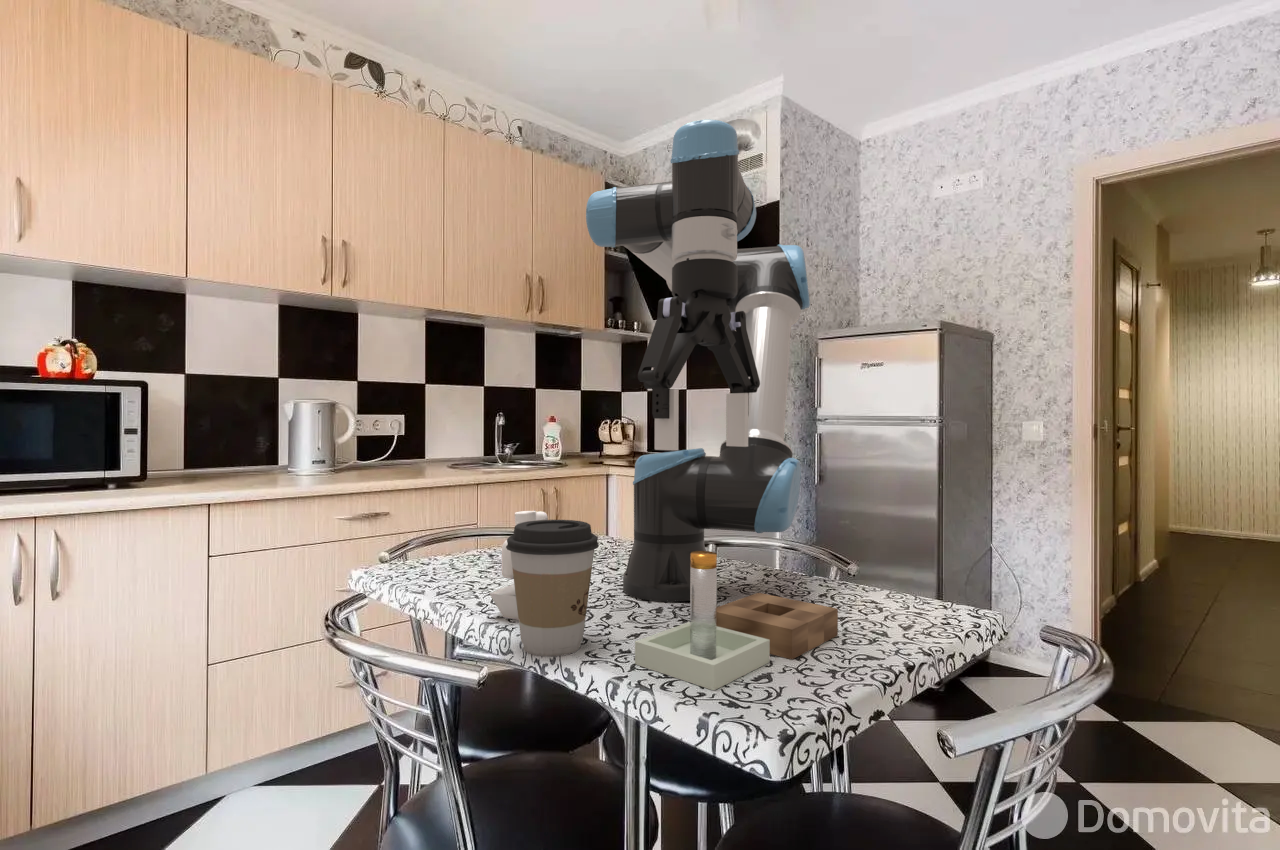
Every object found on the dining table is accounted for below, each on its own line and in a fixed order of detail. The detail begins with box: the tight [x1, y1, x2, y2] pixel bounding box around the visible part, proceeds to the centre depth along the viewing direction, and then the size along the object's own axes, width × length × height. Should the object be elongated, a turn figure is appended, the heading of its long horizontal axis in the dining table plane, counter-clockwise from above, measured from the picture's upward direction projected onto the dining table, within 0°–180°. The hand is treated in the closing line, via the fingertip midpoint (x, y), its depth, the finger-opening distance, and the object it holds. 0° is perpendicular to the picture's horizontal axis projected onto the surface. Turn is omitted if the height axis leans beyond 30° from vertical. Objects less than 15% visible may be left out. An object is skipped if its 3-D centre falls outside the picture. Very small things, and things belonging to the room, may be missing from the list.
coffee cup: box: [506, 519, 600, 658], centre depth 81 cm, size 11×11×15 cm
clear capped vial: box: [689, 550, 718, 660], centre depth 75 cm, size 3×3×12 cm
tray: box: [634, 621, 771, 691], centre depth 75 cm, size 11×11×3 cm
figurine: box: [489, 510, 549, 621], centre depth 94 cm, size 7×9×15 cm
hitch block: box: [716, 592, 839, 661], centre depth 85 cm, size 12×12×4 cm
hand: (704, 448), depth 76 cm, fingers open, 13 cm apart
